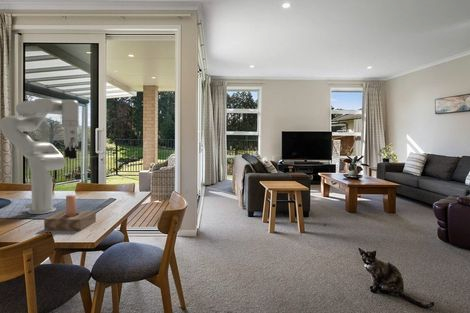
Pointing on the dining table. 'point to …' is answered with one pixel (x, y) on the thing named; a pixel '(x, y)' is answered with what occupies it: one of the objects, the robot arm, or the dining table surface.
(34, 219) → the dining table surface
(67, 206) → the peg
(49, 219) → the socket block
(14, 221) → the dining table surface
